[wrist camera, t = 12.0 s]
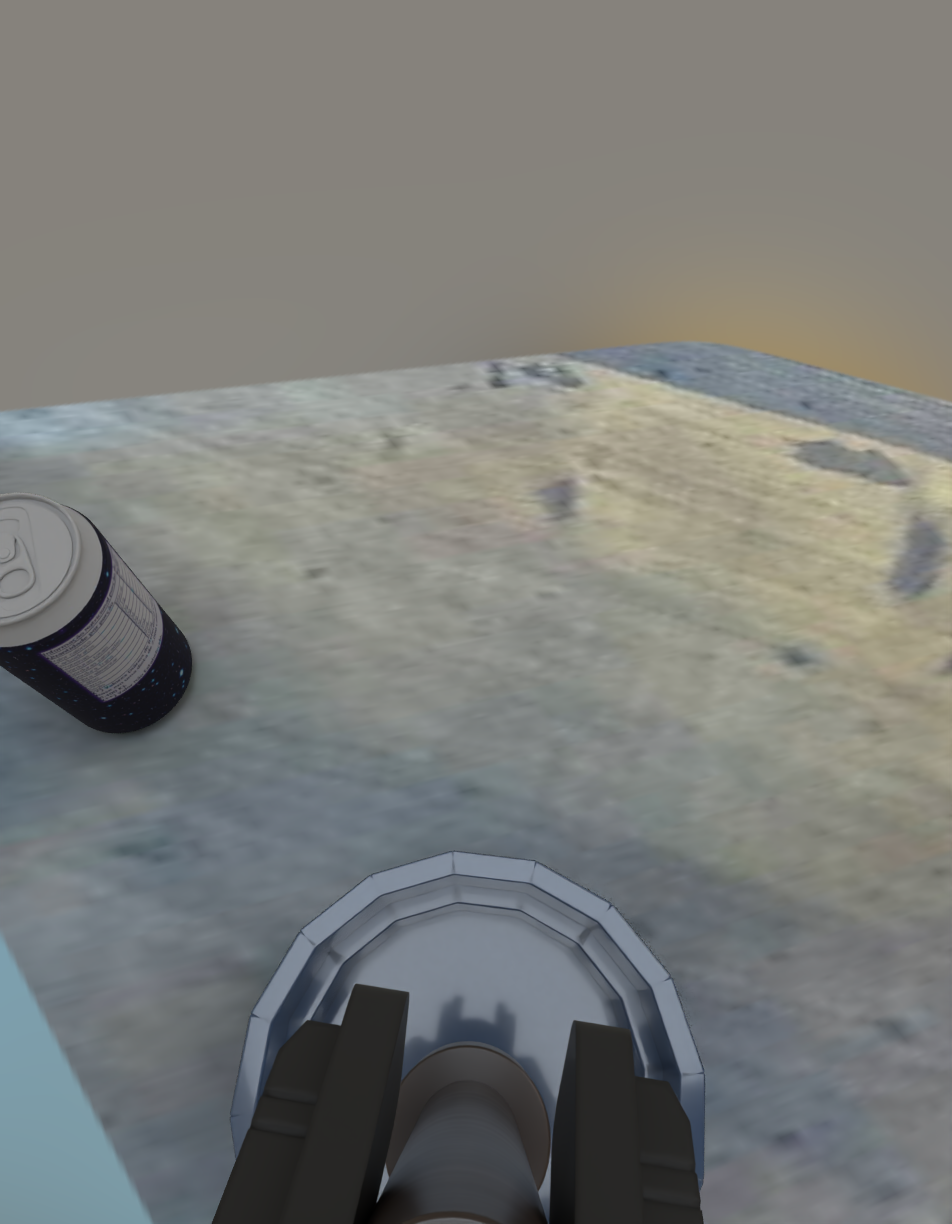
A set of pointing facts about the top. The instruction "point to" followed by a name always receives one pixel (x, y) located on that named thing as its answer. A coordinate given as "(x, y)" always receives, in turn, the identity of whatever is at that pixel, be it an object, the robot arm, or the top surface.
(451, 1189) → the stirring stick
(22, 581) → the beverage can
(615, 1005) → the bowl
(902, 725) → the top surface
